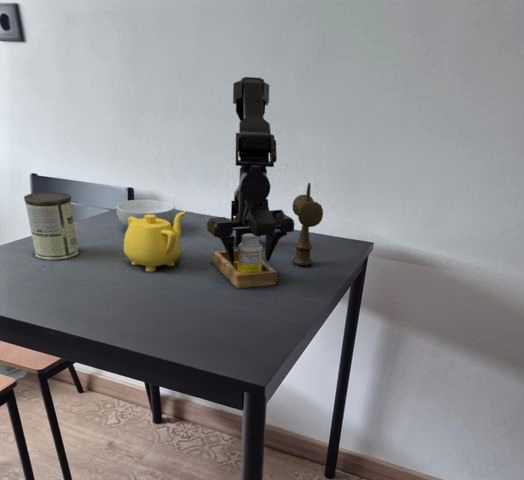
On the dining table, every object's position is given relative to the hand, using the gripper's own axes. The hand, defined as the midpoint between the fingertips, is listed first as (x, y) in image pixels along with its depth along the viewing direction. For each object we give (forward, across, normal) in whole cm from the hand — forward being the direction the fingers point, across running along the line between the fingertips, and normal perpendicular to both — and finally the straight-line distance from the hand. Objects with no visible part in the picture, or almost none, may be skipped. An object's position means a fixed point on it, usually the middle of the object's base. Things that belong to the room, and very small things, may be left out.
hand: (250, 262), depth 110 cm
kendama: (+4, +17, +6) cm, 19 cm away
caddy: (+4, 0, +4) cm, 6 cm away
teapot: (+4, -17, +17) cm, 24 cm away
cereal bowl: (+4, -14, +46) cm, 48 cm away
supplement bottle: (+4, 0, 0) cm, 4 cm away
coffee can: (+4, -40, +30) cm, 50 cm away
